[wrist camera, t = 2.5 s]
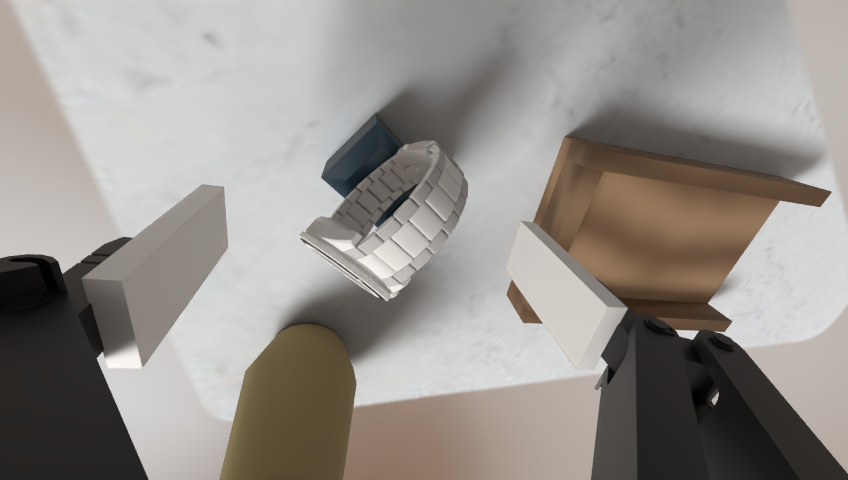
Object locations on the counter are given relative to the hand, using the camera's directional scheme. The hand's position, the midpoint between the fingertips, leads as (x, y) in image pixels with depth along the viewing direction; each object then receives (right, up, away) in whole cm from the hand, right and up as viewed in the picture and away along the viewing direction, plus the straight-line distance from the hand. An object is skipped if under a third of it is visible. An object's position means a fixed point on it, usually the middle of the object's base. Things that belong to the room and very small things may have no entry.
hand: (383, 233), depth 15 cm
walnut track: (+20, 0, +13) cm, 24 cm away
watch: (-1, +4, +7) cm, 8 cm away
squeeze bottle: (-8, -9, +13) cm, 18 cm away
